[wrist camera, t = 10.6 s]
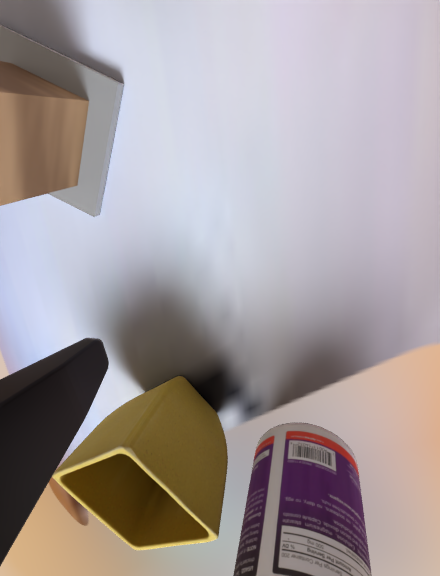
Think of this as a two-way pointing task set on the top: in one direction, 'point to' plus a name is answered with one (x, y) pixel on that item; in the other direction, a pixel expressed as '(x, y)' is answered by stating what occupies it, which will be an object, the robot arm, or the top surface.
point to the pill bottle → (303, 507)
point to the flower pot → (153, 469)
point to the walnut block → (38, 135)
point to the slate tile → (100, 114)
